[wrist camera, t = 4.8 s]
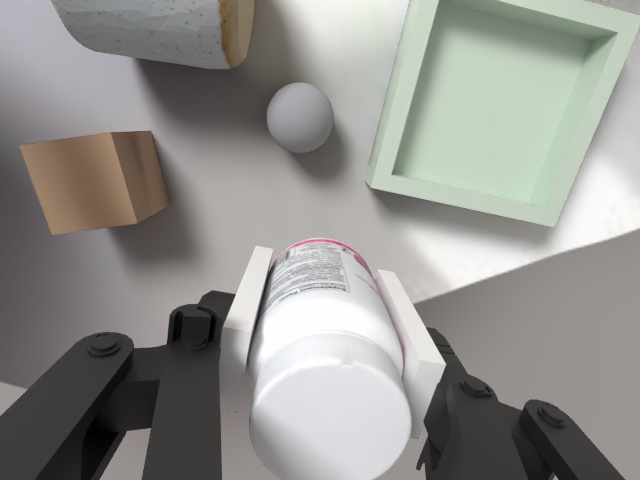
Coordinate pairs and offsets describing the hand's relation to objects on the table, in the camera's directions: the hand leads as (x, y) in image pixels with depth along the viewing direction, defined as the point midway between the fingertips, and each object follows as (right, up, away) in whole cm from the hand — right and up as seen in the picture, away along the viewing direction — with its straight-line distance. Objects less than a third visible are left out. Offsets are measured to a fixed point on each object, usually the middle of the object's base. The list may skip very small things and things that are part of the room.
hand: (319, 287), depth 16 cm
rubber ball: (-1, +9, +5) cm, 11 cm away
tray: (+10, +11, +7) cm, 16 cm away
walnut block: (-13, +7, +8) cm, 17 cm away
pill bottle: (0, 0, 0) cm, 1 cm away
